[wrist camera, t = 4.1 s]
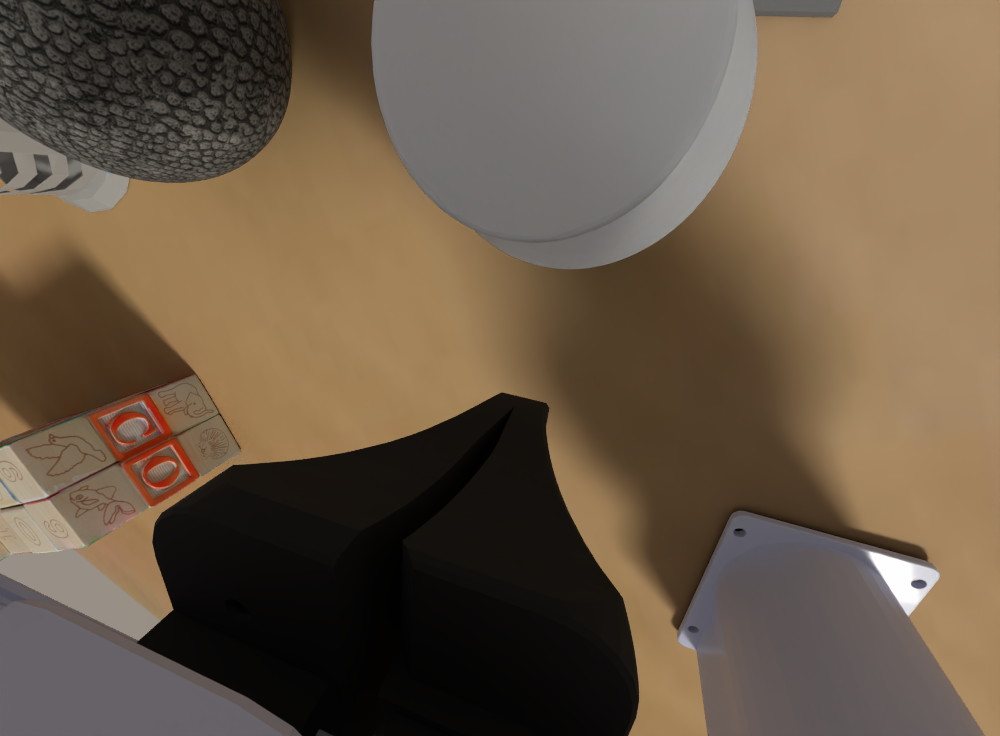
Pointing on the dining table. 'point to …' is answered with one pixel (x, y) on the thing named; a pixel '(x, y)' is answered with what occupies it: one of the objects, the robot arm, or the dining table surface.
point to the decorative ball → (146, 82)
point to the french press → (54, 173)
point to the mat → (796, 8)
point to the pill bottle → (565, 115)
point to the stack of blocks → (106, 466)
